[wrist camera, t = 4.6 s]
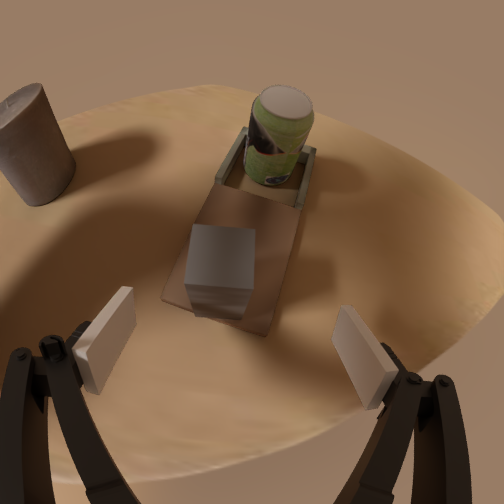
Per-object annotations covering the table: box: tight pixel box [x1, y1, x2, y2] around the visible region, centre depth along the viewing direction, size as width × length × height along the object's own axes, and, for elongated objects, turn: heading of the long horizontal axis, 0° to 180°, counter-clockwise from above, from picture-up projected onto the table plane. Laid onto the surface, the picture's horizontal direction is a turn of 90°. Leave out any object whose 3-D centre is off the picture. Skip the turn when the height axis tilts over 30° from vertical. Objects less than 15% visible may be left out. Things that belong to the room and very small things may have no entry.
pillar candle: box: [0, 83, 76, 206], centre depth 22 cm, size 10×10×15 cm
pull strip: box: [160, 127, 316, 337], centre depth 25 cm, size 10×24×10 cm, turn 163°
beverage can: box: [243, 85, 314, 185], centre depth 27 cm, size 6×7×12 cm
